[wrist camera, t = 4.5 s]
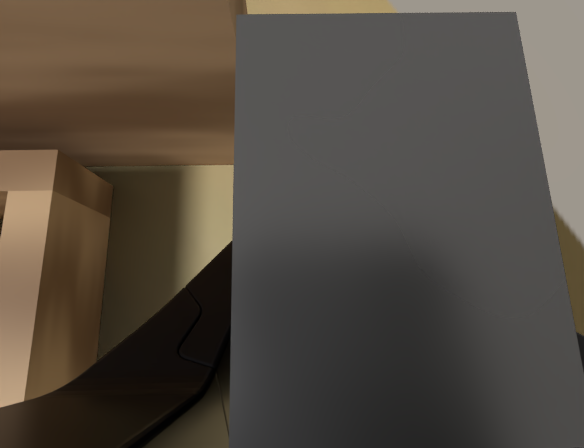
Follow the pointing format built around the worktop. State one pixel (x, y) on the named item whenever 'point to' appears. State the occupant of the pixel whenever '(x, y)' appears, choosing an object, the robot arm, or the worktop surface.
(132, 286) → the worktop surface
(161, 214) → the worktop surface
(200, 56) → the wooden socket
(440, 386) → the grey bar
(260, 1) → the worktop surface
